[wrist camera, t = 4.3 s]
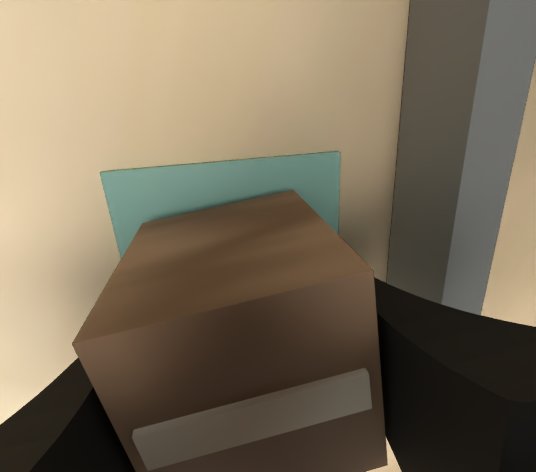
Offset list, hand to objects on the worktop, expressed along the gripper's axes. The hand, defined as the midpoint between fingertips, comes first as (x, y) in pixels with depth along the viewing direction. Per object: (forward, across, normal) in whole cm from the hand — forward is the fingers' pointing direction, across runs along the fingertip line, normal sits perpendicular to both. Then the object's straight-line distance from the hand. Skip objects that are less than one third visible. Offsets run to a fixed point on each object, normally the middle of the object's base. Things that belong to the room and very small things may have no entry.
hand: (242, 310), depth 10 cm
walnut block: (+2, 0, 0) cm, 2 cm away
